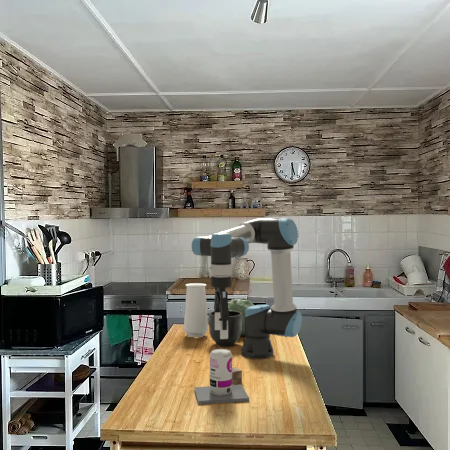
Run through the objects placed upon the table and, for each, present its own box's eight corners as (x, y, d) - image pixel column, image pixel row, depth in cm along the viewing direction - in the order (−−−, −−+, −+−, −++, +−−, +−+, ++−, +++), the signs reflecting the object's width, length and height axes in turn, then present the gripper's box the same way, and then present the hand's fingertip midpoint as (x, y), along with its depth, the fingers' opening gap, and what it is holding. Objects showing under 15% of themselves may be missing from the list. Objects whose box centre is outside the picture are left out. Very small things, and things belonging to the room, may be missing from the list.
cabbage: (259, 338, 266) (259, 301, 266) (224, 338, 267) (224, 300, 266) (258, 331, 282) (258, 296, 281) (224, 331, 282) (224, 296, 282)
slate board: (241, 387, 191) (241, 384, 191) (249, 401, 177) (249, 398, 177) (194, 390, 188) (194, 387, 188) (198, 404, 174) (198, 400, 174)
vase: (197, 332, 280) (197, 282, 280) (212, 336, 271) (212, 284, 270) (179, 335, 272) (179, 284, 271) (194, 340, 262) (194, 287, 261)
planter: (247, 347, 248) (247, 315, 247) (213, 350, 243) (213, 317, 243) (236, 339, 264) (236, 309, 264) (204, 341, 259) (204, 311, 259)
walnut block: (235, 379, 201) (235, 367, 201) (241, 383, 196) (241, 370, 196) (224, 381, 198) (224, 368, 198) (230, 385, 194) (230, 372, 194)
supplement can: (235, 389, 185) (235, 349, 185) (227, 397, 177) (227, 355, 177) (214, 387, 188) (214, 347, 187) (206, 394, 180) (206, 353, 180)
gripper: (206, 272, 193) (206, 326, 194) (215, 280, 169) (215, 343, 169) (225, 271, 194) (225, 326, 195) (237, 280, 170) (237, 342, 170)
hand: (221, 334), depth 182 cm, fingers open, 13 cm apart
